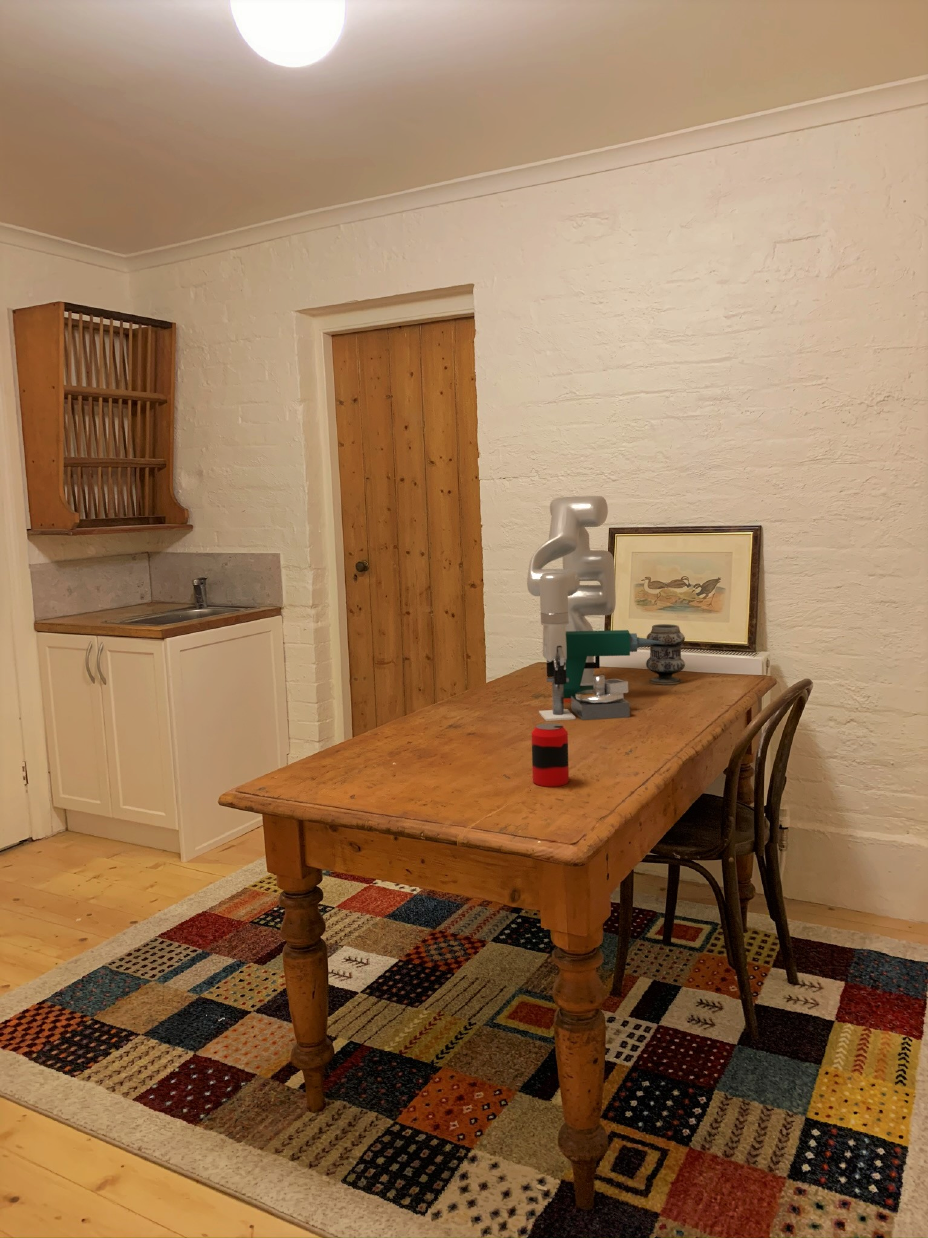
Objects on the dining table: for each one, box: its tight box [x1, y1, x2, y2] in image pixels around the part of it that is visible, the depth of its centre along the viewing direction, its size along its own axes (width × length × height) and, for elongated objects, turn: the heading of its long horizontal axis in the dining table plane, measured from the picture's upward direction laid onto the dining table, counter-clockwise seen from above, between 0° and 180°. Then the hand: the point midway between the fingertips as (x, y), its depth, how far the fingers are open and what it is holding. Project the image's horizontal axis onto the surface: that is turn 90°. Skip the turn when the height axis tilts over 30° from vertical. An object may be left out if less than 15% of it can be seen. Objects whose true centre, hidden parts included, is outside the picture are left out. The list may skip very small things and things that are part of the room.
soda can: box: [531, 722, 570, 788], centre depth 200 cm, size 8×8×12 cm
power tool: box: [563, 629, 661, 704], centre depth 278 cm, size 32×7×20 cm, turn 84°
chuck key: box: [546, 677, 569, 715], centre depth 260 cm, size 3×6×10 cm, turn 84°
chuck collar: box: [576, 674, 629, 703], centre depth 261 cm, size 13×14×6 cm
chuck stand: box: [570, 695, 630, 721], centre depth 262 cm, size 13×13×4 cm
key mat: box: [538, 708, 576, 722], centre depth 261 cm, size 10×8×1 cm
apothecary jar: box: [645, 623, 686, 686], centre depth 301 cm, size 12×12×18 cm
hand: (556, 680), depth 260 cm, fingers open, 9 cm apart
